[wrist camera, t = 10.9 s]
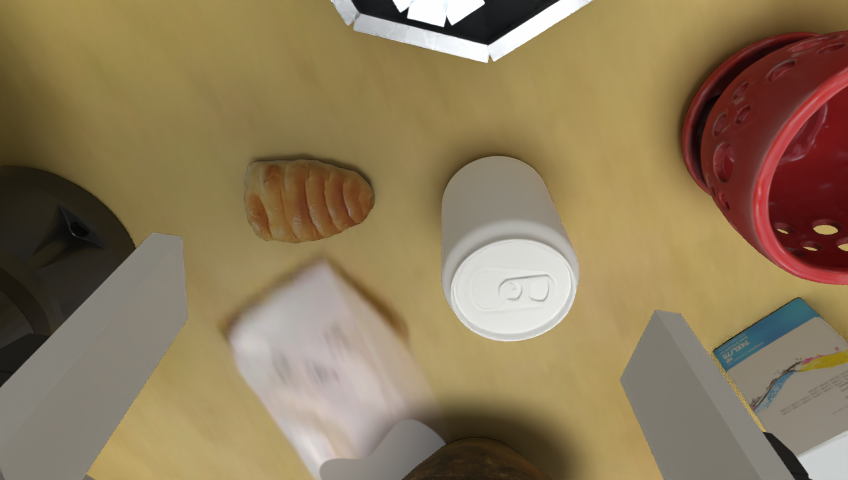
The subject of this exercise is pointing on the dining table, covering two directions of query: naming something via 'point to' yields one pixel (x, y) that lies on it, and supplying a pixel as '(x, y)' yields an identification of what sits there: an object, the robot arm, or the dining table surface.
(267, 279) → the dining table surface
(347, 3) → the tray
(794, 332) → the ink box
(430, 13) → the gear
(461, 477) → the bowl
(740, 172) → the plant pot
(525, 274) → the beverage can
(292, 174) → the pastry
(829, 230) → the dining table surface
